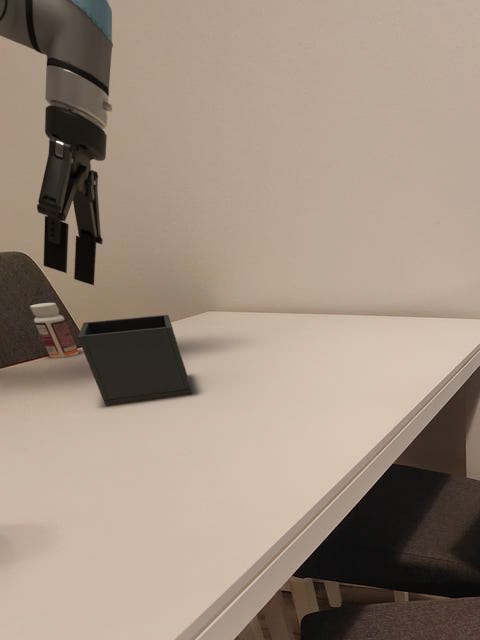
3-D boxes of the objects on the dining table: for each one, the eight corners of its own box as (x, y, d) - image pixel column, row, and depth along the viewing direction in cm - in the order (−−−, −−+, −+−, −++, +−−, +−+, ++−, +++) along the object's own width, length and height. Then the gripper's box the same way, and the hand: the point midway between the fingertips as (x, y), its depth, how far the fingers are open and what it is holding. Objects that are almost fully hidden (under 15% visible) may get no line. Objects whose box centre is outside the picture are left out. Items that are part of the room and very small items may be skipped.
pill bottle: (80, 352, 111) (59, 301, 105) (78, 357, 107) (57, 305, 102) (51, 355, 109) (28, 304, 104) (49, 360, 106) (25, 307, 100)
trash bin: (106, 408, 81) (77, 336, 76) (109, 388, 90) (83, 322, 84) (193, 396, 85) (171, 327, 80) (188, 378, 93) (168, 314, 88)
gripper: (79, 94, 77) (71, 272, 84) (127, 156, 99) (118, 294, 106) (10, 66, 74) (8, 252, 81) (75, 136, 96) (69, 279, 103)
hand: (70, 276), depth 94 cm, fingers open, 13 cm apart
